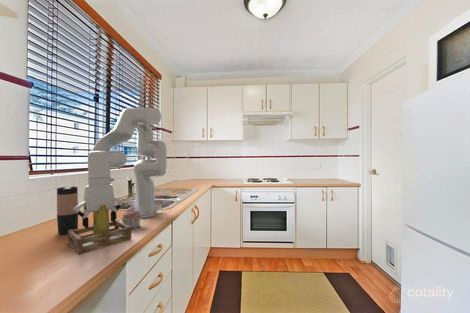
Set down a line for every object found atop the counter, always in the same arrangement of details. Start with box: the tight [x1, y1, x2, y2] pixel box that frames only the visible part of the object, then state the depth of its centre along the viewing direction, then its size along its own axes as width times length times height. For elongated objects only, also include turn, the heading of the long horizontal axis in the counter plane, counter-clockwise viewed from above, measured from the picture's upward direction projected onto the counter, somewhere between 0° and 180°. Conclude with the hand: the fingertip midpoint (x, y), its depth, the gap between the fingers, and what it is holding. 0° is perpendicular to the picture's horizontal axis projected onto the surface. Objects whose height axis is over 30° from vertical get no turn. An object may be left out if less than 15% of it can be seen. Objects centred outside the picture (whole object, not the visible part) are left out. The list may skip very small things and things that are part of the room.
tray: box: [67, 219, 132, 255], centre depth 90 cm, size 18×14×5 cm
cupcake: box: [120, 206, 143, 230], centre depth 107 cm, size 9×9×10 cm
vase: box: [92, 204, 110, 242], centre depth 90 cm, size 6×6×14 cm
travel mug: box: [56, 186, 79, 236], centre depth 101 cm, size 8×8×20 cm
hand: (100, 224), depth 90 cm, fingers open, 9 cm apart
